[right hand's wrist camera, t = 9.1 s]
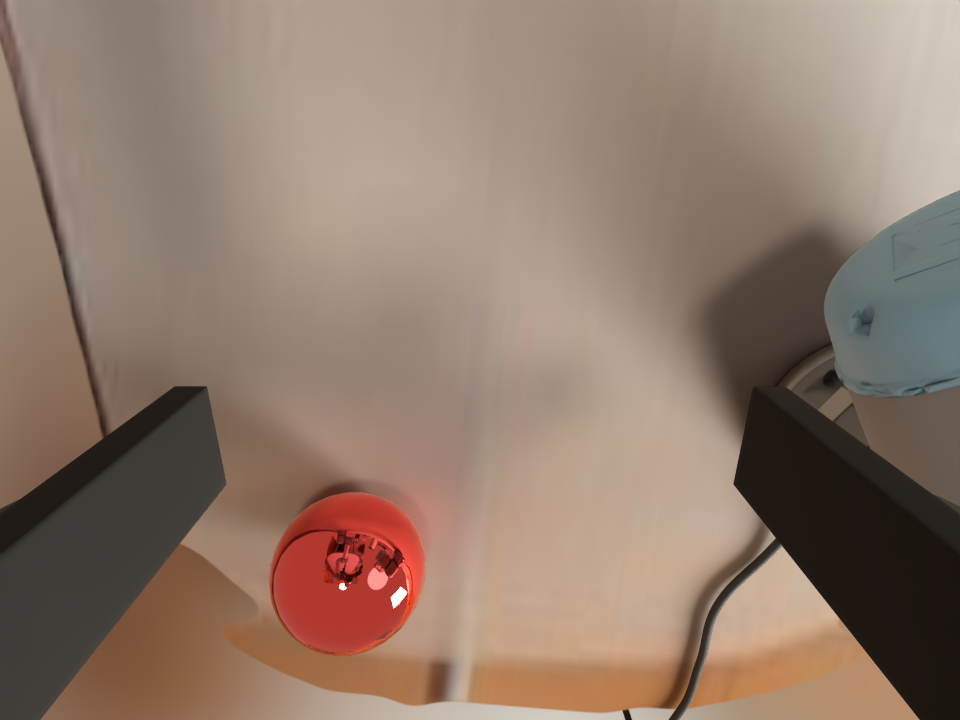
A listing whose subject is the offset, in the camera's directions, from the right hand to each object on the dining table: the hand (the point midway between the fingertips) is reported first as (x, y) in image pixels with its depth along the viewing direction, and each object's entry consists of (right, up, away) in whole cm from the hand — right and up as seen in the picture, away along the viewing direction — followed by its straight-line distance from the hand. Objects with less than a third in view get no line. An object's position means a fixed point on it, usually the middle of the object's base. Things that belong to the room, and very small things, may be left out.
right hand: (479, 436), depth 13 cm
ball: (-10, -13, +34) cm, 38 cm away
